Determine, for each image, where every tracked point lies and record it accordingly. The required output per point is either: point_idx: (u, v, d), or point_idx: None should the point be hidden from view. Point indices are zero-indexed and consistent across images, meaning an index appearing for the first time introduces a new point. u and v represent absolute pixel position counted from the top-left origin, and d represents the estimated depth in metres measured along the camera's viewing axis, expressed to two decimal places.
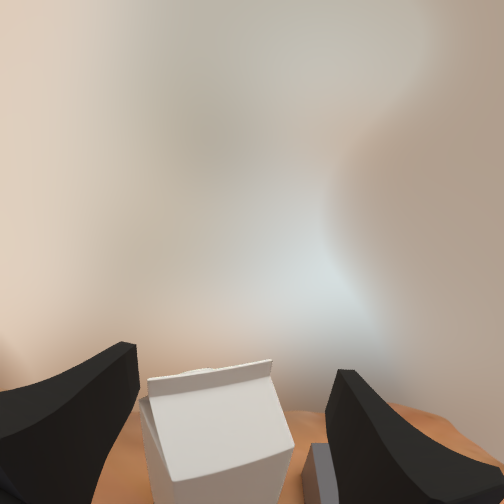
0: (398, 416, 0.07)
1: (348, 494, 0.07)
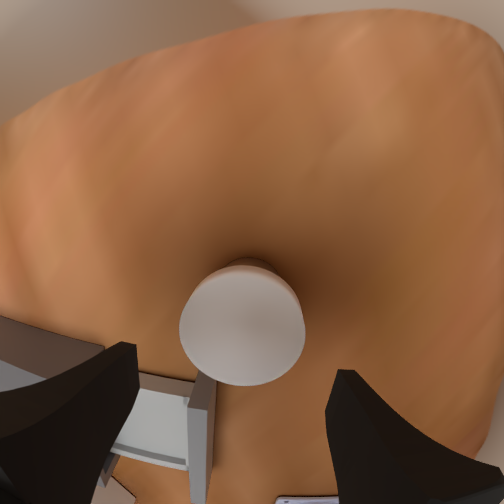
0: (398, 416, 0.07)
1: (348, 494, 0.07)
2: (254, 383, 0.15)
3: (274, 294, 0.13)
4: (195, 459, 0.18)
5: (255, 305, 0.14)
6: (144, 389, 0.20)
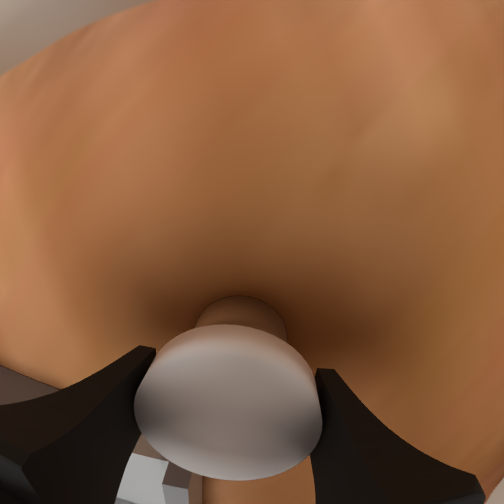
0: (374, 417, 0.07)
1: (323, 495, 0.07)
2: (246, 478, 0.09)
3: (276, 379, 0.08)
4: None
5: (245, 393, 0.08)
6: None
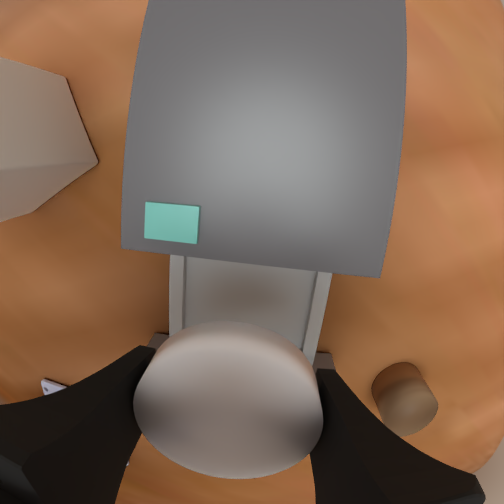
0: (374, 417, 0.07)
1: (323, 495, 0.07)
2: (245, 477, 0.09)
3: (278, 376, 0.08)
4: None
5: (246, 390, 0.08)
6: (322, 316, 0.18)
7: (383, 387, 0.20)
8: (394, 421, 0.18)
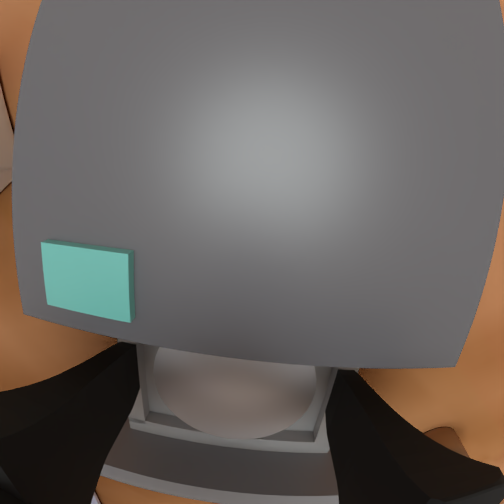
0: (398, 416, 0.07)
1: (348, 494, 0.07)
2: (249, 437, 0.11)
3: None
4: (241, 498, 0.10)
5: None
6: None
7: None
8: None
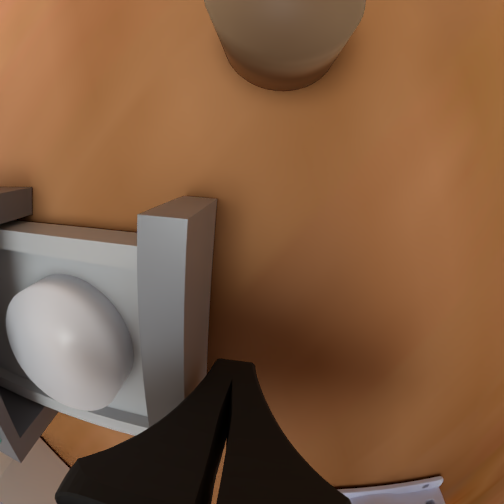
0: (268, 414, 0.07)
1: None
2: (107, 351, 0.10)
3: (11, 318, 0.10)
4: (160, 397, 0.08)
5: (24, 337, 0.10)
6: (73, 240, 0.10)
7: (250, 72, 0.09)
8: (294, 29, 0.06)
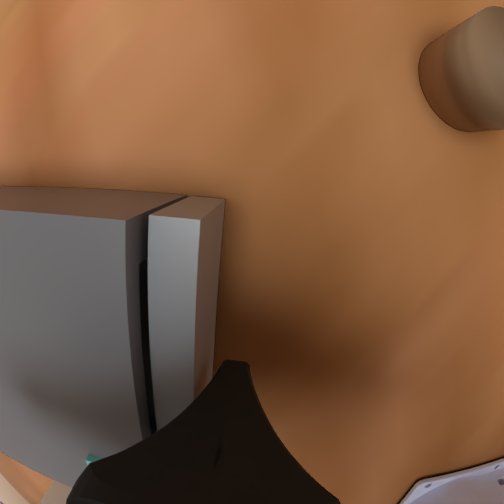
0: (260, 414, 0.07)
1: None
2: None
3: None
4: (170, 398, 0.08)
5: None
6: None
7: (463, 116, 0.09)
8: None
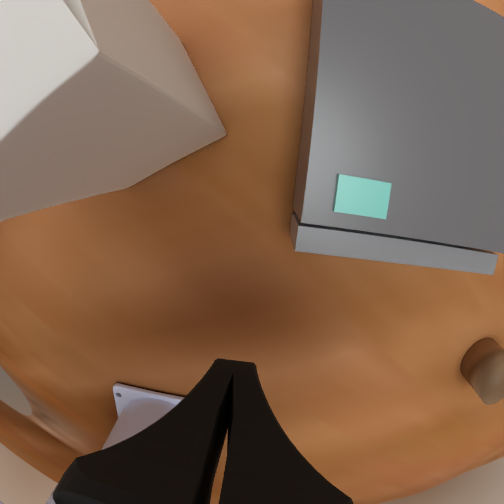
0: (269, 414, 0.07)
1: None
2: None
3: None
4: (427, 253, 0.15)
5: None
6: None
7: (476, 360, 0.20)
8: (489, 389, 0.17)
